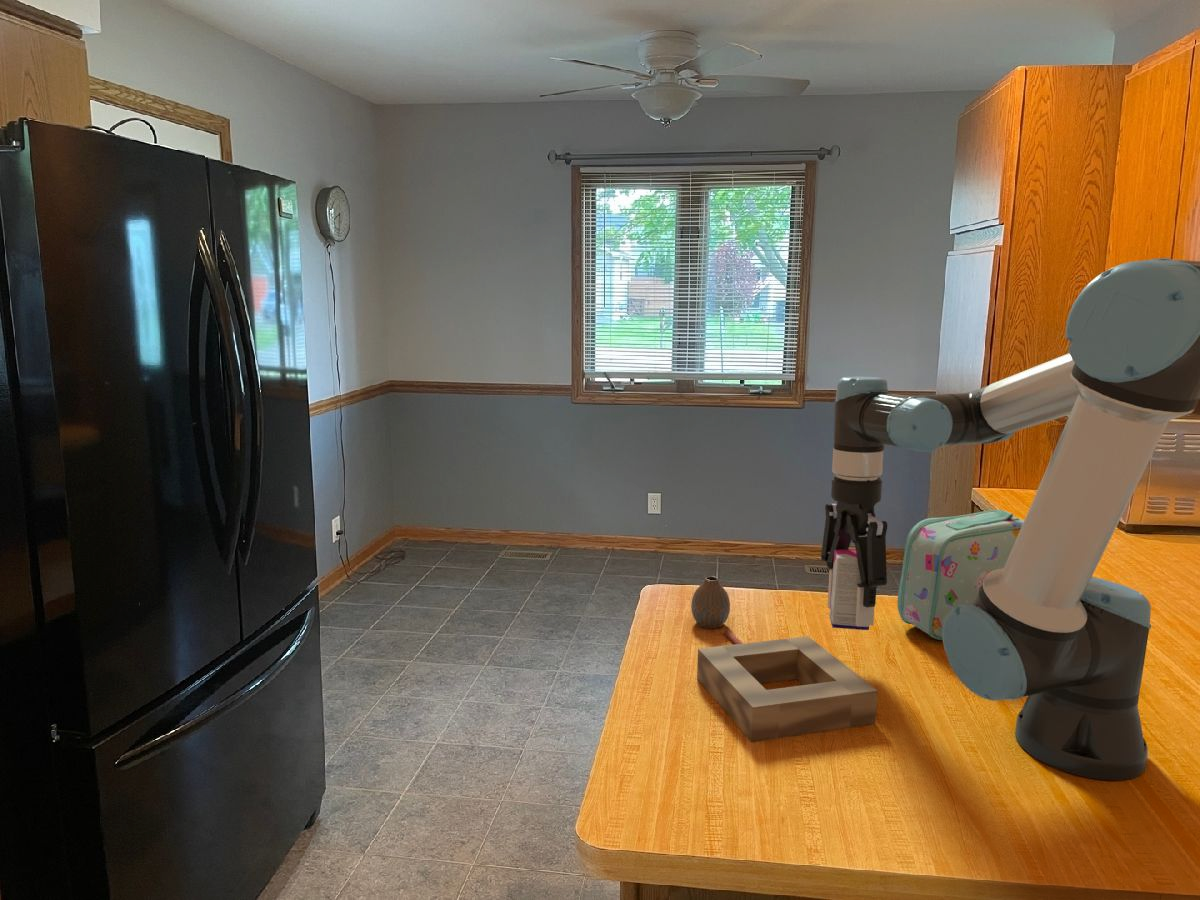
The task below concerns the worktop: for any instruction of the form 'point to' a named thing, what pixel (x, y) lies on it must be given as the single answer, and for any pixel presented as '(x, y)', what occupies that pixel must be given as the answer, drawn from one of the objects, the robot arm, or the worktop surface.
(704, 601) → the vase
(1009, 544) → the lunch box
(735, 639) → the reddish-brown thin rod
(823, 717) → the brown wooden square frame
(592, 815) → the worktop surface
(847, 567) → the supplement box
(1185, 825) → the worktop surface
